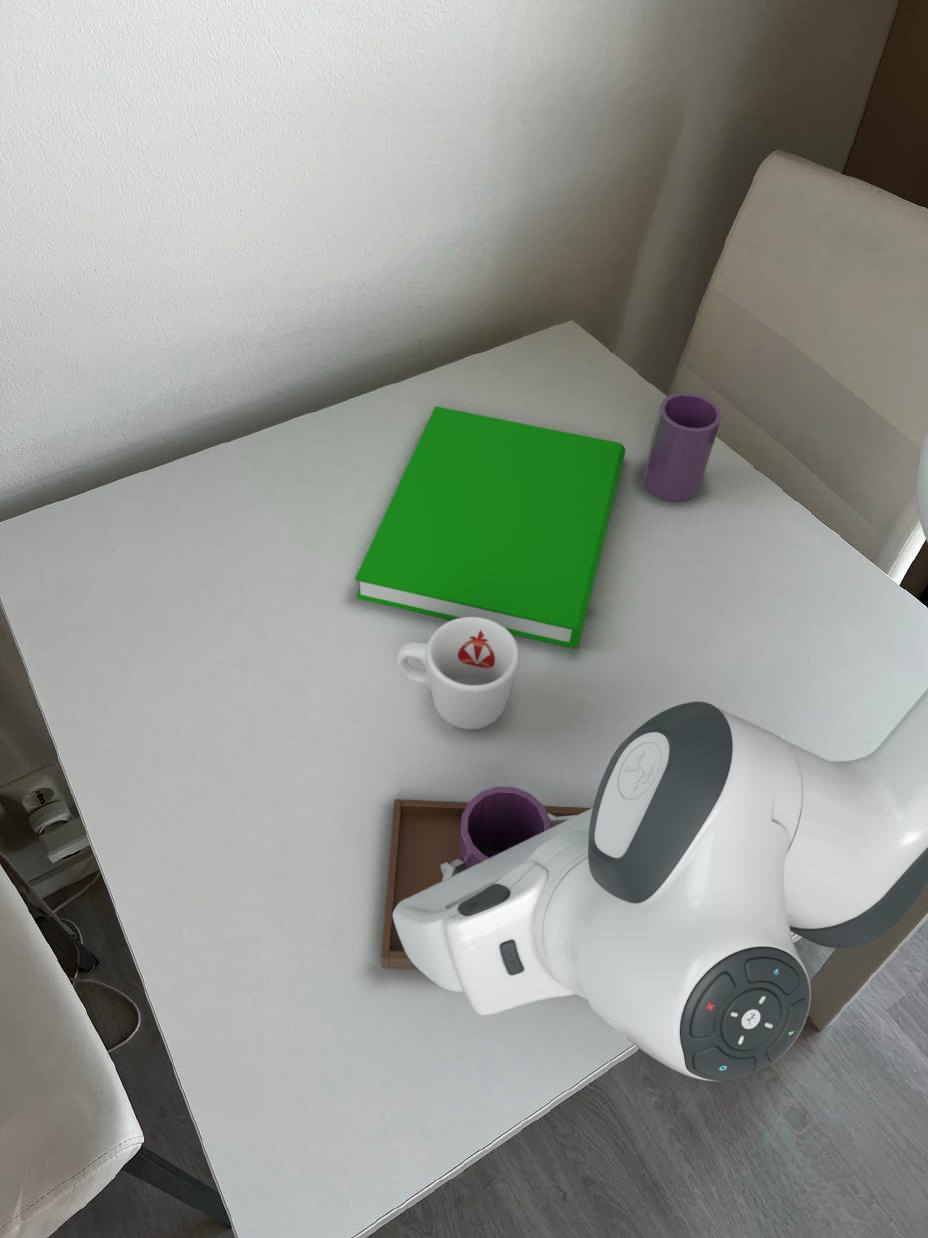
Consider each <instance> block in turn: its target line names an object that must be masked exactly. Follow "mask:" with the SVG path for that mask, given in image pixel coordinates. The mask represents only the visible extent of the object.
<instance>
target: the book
mask: <svg viewBox="0 0 928 1238" xmlns="http://www.w3.org/2000/svg"><path fill="white" fill-rule="evenodd" d="M625 454H626V448H625V446H624V445H623V443H622V442H617V441H612V440H606V439H602V438H598V437H593V436H586V435H581V434H577V433H571V432H566V431H562V430H557V429H551V428H546V427H542V426H537V425H532V424H528V423H522V422H516V421H511V420H508V419H507V420H506V419H501V418H496V417H492V416H491V417H490V416H486V415H482V414H476V413H471V412H468V411H467V412H466V411H462V410H457V409H451V408H447V407H443V406H442V407H441V406H437V405H435V406H434V408H433V410H432V411H431V414H430V417H429V418H428V421H427V423H426V425H425V427H424V429H423V431H422V434H421V436H420V438H419V439H418V442H417V445H416V447H415V449H414V451H413V453H412V455H411V457H410V460H409V462H408V464H407V466H406V468H405V470H404V473H403V475H402V477H401V479H400V481H399V483H398V485H397V488H396V490H395V491H394V494H393V496H392V498H391V501H390V502H389V504H388V506H387V509H386V511H385V513H384V515H383V518H382V519H381V521H380V524H379V525H378V528H377V530H376V532H375V535H374V537H373V539H372V541H371V543H370V545H369V547H368V550H367V551H366V554H365V555H364V556H365V557H364V558H363V561H362V563H361V565H360V568H359V569H358V571H357V573H356V575H355V579H354V580H355V581H357V582H359V590H358V592H357V595H356V599H358V600H362V601H366V602H371V603H375V604H379V605H383V606H388V607H393V608H397V609H402V610H406V611H409V612H414V613H419V614H421V615H422V614H423V615H427V616H432V617H435V618H440V619H445V620H449V621H451V620H454V619H458V618H463V617H481V618H486V619H489V620H492V621H494V622H496V623H498V624H500V625H502V626H503V627H504V628H506V629H507V630H508V631H509V632H510V633H511V634H512V636H516V637H517V636H519V637H522V638H526V639H531V640H535V641H540V642H542V643H543V642H544V643H549V644H552V645H557V646H561V647H566V648H569V649H573V648H575V647H577V646H579V645H580V641H581V638H582V634H583V630H584V625H585V621H586V617H587V612H588V609H589V604H590V601H591V596H592V591H593V588H594V585H595V579H596V575H597V571H598V567H599V564H600V563H599V562H600V558H601V554H602V549H603V546H604V542H605V538H606V534H607V530H608V526H609V522H610V518H611V517H610V516H611V514H612V509H613V505H614V501H615V496H616V492H617V489H618V484H619V480H620V477H621V472H622V469H623V468H622V467H623V463H624V459H625Z"/></svg>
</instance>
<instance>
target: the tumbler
mask: <svg viewBox="0 0 928 1238" xmlns="http://www.w3.org/2000/svg"><path fill="white" fill-rule="evenodd" d="M721 421H722V412H721V409H720V407H719V406H718V405H717V404H716V403H715V402H714V401H713V400H711V399H709V398H707V396H703V395H701V394H698V393H697V394H696V393H693V392H678V393H673V394H670V395H668V396H666V397H665V398H664V399H663V400H662V401H661V403H660V405H659V408H658V413H657V417H656V420H655V425H654V428H653V432H652V436H651V441H650V444H649V449H648V452H647V457H646V461H645V464H644V465H645V466H644V470H643V475H642V482H643V485H644V487H645V489H646V490H647V491H648V493H650V495H653V496H654V497H656V498H658V499H660V500H662V501H667V502H671V503H672V502H673V503H674V502H675V503H676V502H677V503H678V502H679V503H680V502H685V501H689V500H691V499H692V498H694V497H695V496H696V495H697V494H698V493H699V490H700V487H701V485H702V482H703V479H704V475H705V472H706V469H707V466H708V462H709V461H710V460H709V459H710V456H711V453H712V450H713V447H714V443H715V441H716V437H717V434H718V430H719V427H720V424H721Z"/></svg>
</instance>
